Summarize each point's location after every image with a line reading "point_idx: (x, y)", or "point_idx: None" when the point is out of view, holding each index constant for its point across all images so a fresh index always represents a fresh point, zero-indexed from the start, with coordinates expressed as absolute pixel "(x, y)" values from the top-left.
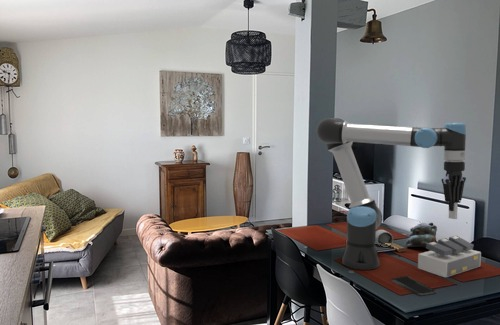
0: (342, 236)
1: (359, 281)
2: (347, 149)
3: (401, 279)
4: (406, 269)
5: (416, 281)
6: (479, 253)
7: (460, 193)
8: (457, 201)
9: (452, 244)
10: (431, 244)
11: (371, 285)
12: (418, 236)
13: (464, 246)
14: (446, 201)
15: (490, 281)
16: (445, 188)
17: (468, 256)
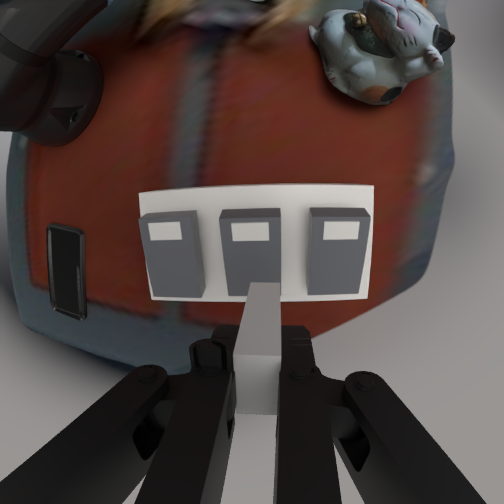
0: None
1: (10, 197)
2: None
3: (62, 238)
4: (124, 181)
5: (80, 264)
6: (356, 297)
7: (359, 490)
8: (277, 426)
9: (253, 266)
10: (150, 234)
11: (15, 224)
12: (339, 41)
13: (308, 284)
14: (192, 349)
15: None
16: (30, 492)
17: (285, 300)
